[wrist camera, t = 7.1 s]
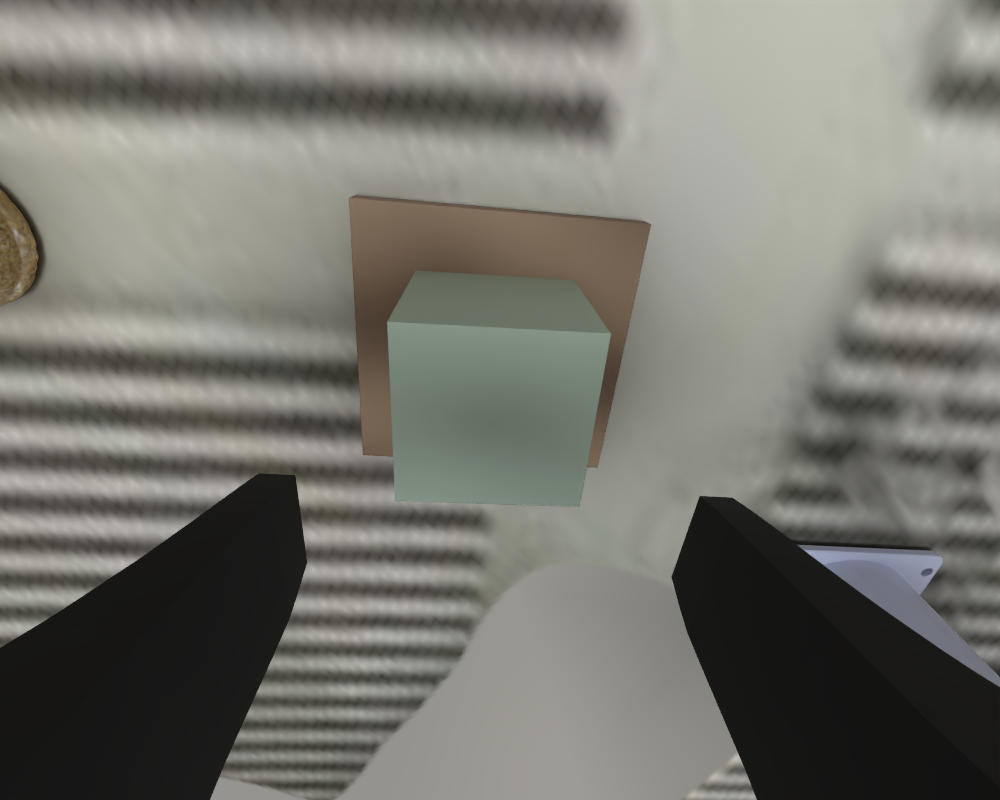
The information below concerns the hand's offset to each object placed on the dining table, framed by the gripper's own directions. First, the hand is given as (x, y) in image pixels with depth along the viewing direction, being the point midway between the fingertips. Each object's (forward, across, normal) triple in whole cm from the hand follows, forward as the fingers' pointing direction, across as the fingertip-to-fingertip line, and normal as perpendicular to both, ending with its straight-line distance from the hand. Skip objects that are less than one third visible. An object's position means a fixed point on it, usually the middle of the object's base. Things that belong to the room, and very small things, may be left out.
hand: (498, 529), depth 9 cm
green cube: (+9, 0, 0) cm, 9 cm away
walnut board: (+9, 0, 0) cm, 9 cm away
